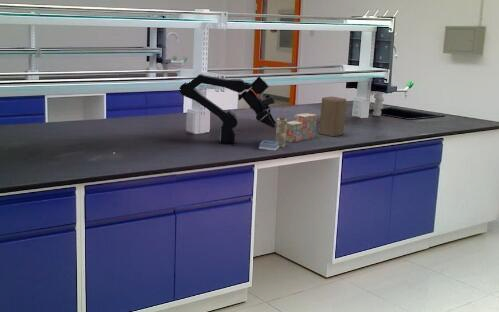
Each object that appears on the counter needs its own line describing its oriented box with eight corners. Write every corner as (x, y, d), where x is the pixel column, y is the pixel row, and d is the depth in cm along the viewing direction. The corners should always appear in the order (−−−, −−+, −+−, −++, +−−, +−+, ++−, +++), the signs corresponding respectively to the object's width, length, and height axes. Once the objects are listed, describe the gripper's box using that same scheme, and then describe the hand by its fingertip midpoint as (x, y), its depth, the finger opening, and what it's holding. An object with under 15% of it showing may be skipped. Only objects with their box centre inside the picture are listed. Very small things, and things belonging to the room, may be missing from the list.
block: (317, 133, 306) (321, 97, 302) (328, 131, 314) (332, 96, 309) (333, 137, 300) (336, 99, 295) (343, 135, 307) (347, 98, 302)
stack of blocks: (292, 142, 281) (294, 118, 278) (281, 140, 285) (283, 116, 282) (315, 137, 297) (317, 114, 294) (305, 135, 301) (307, 112, 298)
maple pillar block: (275, 146, 270) (277, 118, 267) (275, 144, 274) (278, 116, 271) (284, 147, 270) (286, 118, 266) (285, 145, 274) (287, 117, 271)
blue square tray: (258, 148, 264) (259, 143, 263) (263, 145, 271) (263, 140, 271) (275, 150, 262) (275, 145, 261) (279, 147, 269) (279, 142, 268)
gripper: (264, 92, 256) (287, 117, 258) (266, 87, 274) (287, 111, 276) (246, 108, 259) (269, 133, 261) (249, 102, 277) (270, 125, 279)
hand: (274, 125), depth 269 cm, fingers open, 9 cm apart
